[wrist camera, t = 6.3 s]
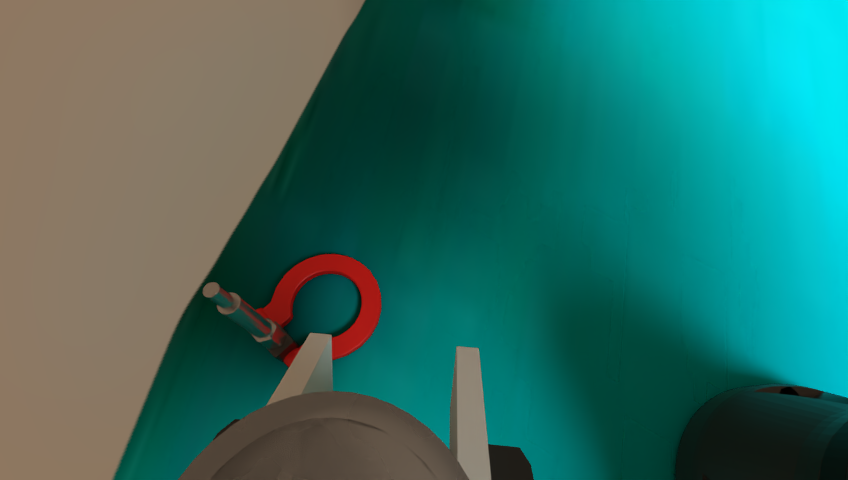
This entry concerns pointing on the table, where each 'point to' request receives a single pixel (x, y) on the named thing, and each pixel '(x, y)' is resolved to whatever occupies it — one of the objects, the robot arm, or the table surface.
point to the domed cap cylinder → (326, 443)
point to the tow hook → (279, 311)
